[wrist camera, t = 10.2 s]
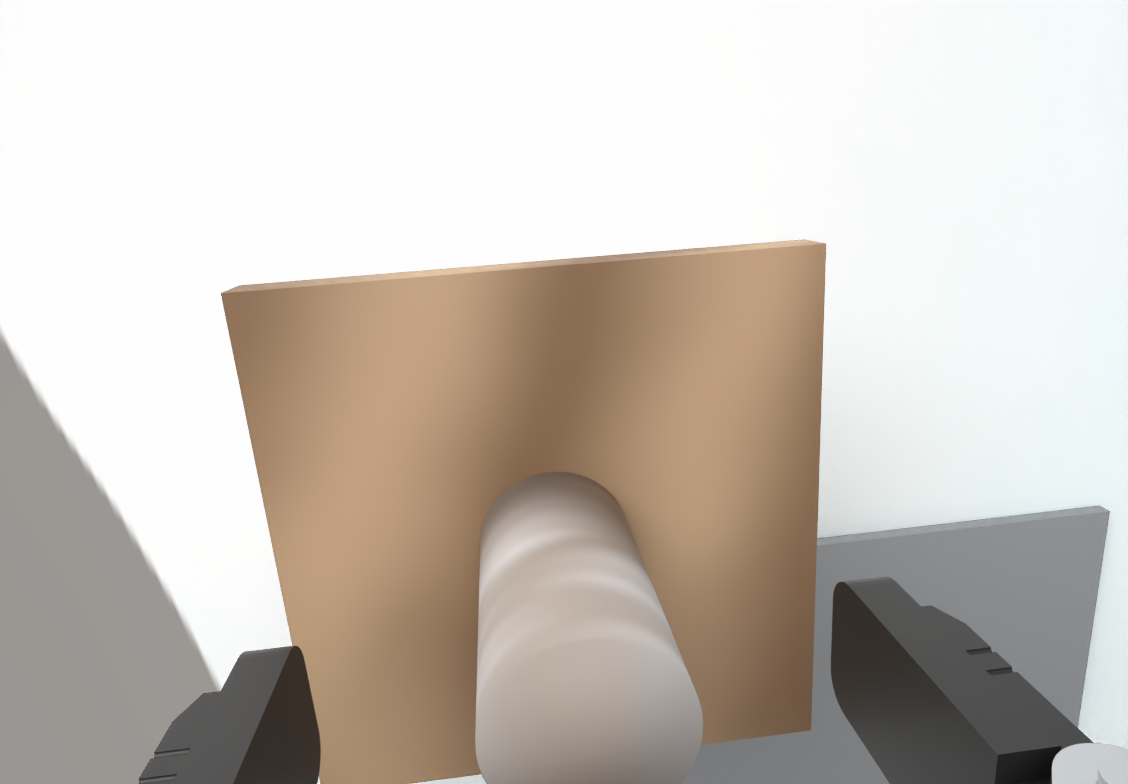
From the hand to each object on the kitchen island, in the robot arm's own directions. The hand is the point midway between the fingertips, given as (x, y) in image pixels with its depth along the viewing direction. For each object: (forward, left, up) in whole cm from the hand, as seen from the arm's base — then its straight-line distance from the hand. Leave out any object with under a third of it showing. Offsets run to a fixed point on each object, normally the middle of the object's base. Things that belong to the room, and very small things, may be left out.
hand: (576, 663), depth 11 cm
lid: (0, 0, -5) cm, 5 cm away
